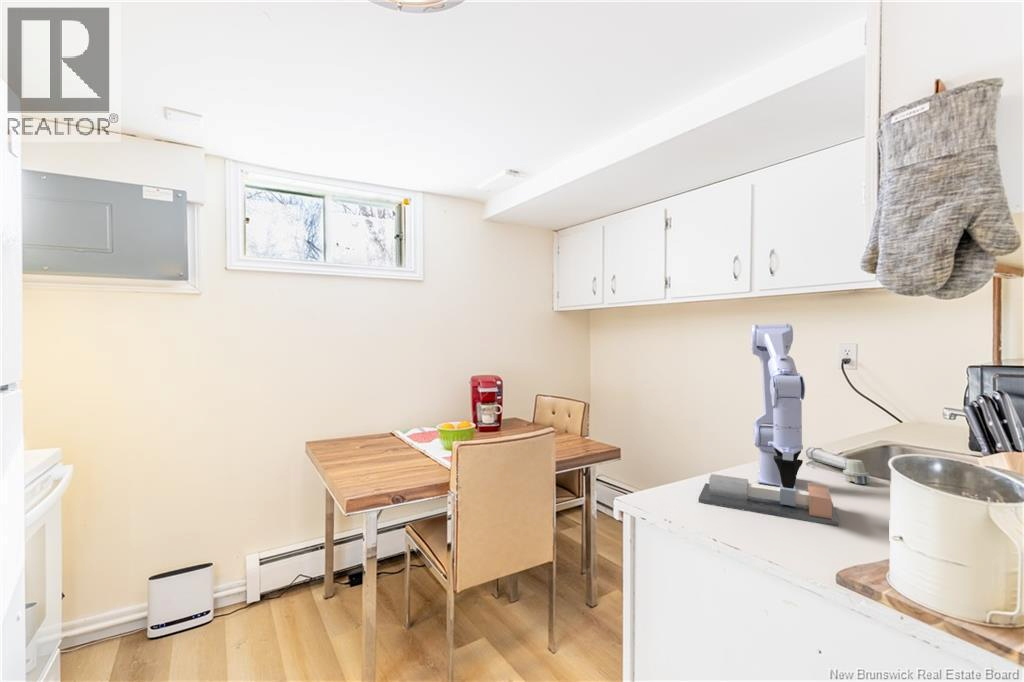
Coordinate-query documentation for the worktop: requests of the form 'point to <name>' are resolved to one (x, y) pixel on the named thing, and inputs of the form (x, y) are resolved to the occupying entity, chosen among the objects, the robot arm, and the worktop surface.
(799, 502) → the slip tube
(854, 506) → the worktop surface
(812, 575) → the worktop surface
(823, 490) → the socket block
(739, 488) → the sleeve base
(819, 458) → the handheld shower head
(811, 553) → the worktop surface
